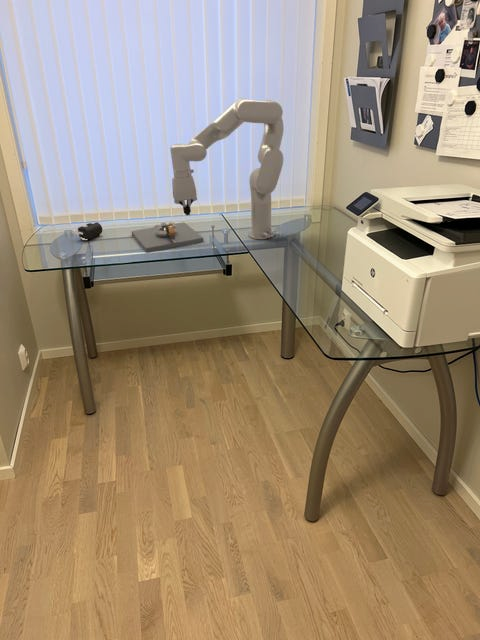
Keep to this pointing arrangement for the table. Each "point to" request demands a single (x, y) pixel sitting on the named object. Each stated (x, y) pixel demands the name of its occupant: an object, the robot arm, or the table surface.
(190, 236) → the grey square base plate
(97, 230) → the end cap
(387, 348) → the table surface
